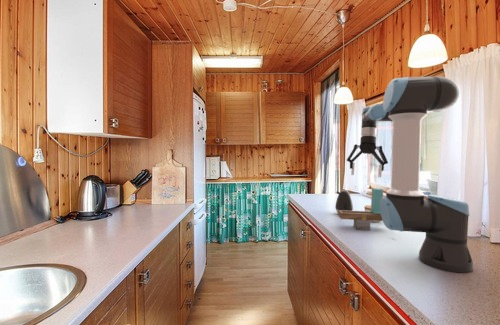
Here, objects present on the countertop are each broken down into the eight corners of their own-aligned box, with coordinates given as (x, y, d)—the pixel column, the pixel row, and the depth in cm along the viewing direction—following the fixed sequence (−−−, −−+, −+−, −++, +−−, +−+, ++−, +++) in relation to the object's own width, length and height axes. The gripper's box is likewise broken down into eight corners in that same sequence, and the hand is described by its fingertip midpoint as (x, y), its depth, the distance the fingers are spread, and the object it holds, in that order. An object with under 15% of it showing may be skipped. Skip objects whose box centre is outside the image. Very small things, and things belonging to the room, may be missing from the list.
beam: (387, 231, 129) (387, 215, 128) (340, 229, 131) (341, 213, 131) (381, 227, 136) (382, 211, 135) (337, 225, 138) (338, 210, 138)
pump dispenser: (331, 212, 166) (332, 189, 166) (346, 212, 168) (347, 188, 168) (340, 216, 156) (341, 191, 156) (356, 216, 158) (356, 191, 158)
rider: (383, 220, 129) (384, 189, 128) (374, 219, 129) (375, 189, 129) (378, 216, 135) (379, 188, 135) (370, 216, 136) (371, 187, 135)
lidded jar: (380, 218, 154) (380, 202, 153) (388, 223, 143) (388, 206, 143) (361, 217, 155) (361, 202, 154) (367, 222, 144) (368, 205, 144)
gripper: (390, 139, 142) (388, 178, 141) (342, 136, 146) (340, 174, 145) (396, 136, 135) (393, 177, 133) (345, 133, 139) (342, 173, 137)
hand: (365, 176), depth 139 cm, fingers open, 13 cm apart
